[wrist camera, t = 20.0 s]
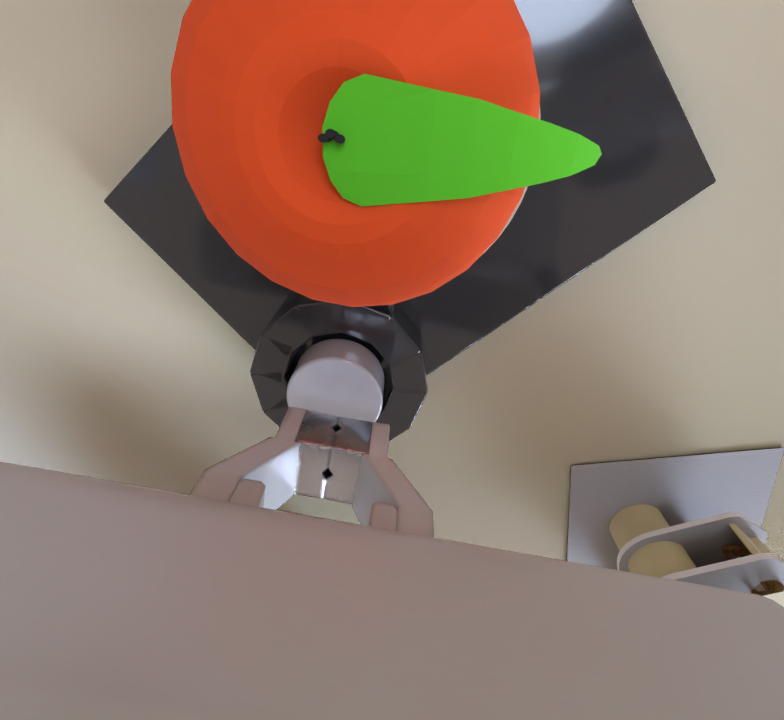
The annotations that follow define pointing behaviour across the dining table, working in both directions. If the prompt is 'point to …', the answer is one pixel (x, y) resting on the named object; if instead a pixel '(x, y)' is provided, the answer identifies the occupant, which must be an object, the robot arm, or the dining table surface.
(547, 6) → the hob
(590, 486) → the stacked layers on plate
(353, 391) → the button
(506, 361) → the dining table surface
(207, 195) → the clementine
